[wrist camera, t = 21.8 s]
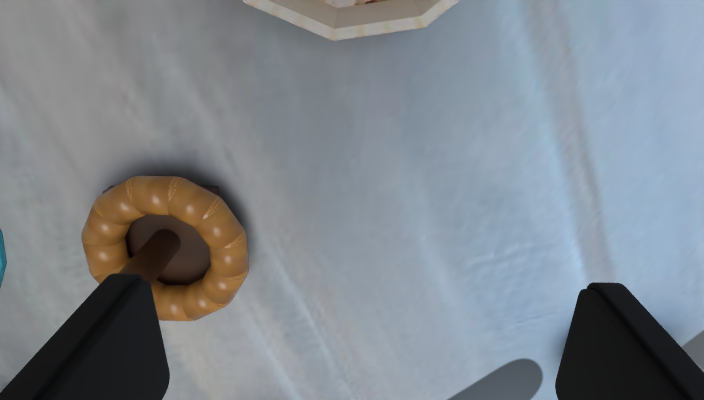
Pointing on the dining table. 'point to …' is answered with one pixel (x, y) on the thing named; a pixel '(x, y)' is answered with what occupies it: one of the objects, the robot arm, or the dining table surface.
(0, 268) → the decorative object
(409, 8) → the bowl
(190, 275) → the post
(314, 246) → the dining table surface
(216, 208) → the ring
